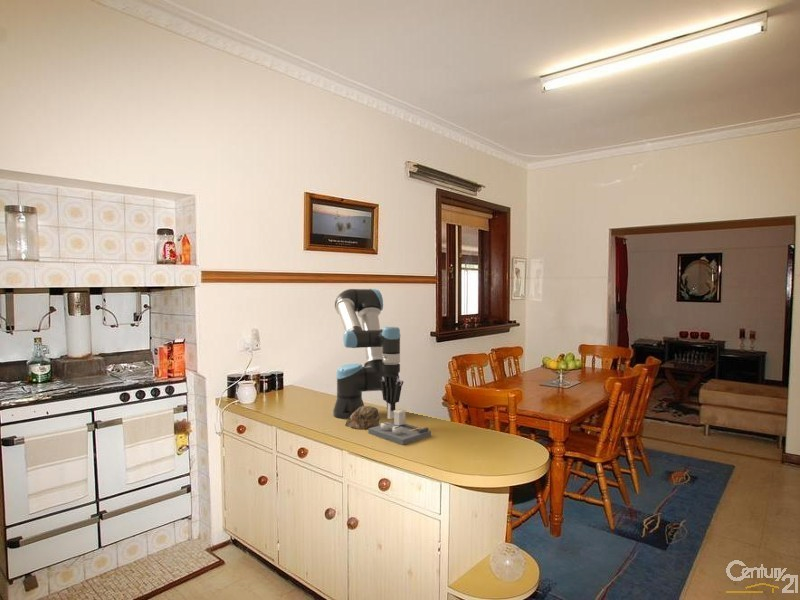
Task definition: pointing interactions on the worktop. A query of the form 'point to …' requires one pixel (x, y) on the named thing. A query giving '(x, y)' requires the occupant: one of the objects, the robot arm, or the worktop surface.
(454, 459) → the worktop surface
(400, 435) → the console
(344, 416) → the robot arm
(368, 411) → the rock
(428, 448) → the worktop surface
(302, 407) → the worktop surface
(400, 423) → the fader tab
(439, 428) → the worktop surface
